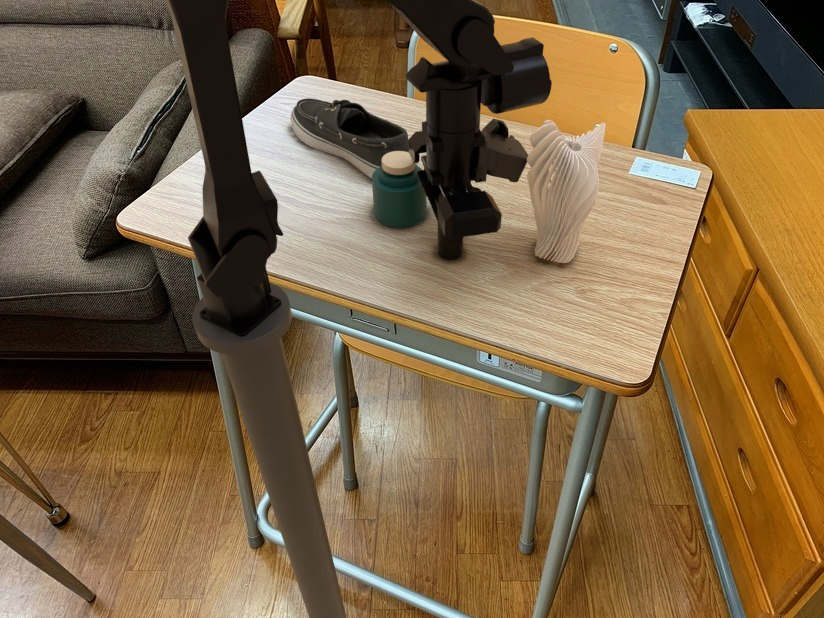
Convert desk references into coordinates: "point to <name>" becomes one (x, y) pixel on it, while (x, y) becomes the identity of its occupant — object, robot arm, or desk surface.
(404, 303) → the desk surface
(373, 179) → the bottle
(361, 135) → the boat shoe
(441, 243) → the flashlight
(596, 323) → the desk surface
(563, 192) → the beige finned vase
